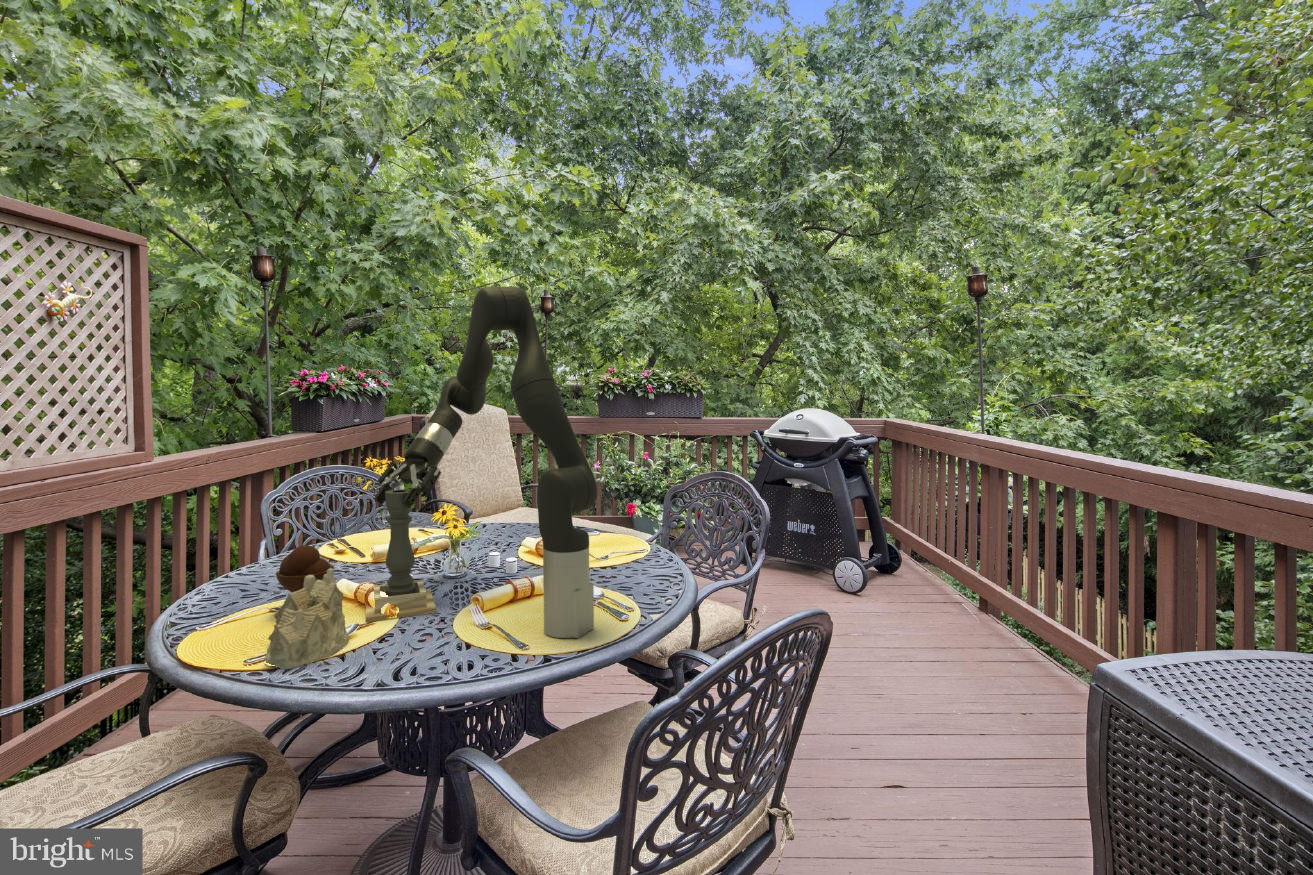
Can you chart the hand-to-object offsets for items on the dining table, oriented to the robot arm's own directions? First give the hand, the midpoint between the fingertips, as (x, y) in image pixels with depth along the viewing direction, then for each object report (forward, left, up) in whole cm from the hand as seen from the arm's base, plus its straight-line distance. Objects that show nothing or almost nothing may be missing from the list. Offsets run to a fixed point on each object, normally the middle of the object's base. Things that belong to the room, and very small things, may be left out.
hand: (391, 503), depth 140 cm
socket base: (0, -1, -24) cm, 24 cm away
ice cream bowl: (+16, +10, -24) cm, 30 cm away
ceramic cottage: (-1, +23, -24) cm, 33 cm away
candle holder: (0, -2, -23) cm, 23 cm away
